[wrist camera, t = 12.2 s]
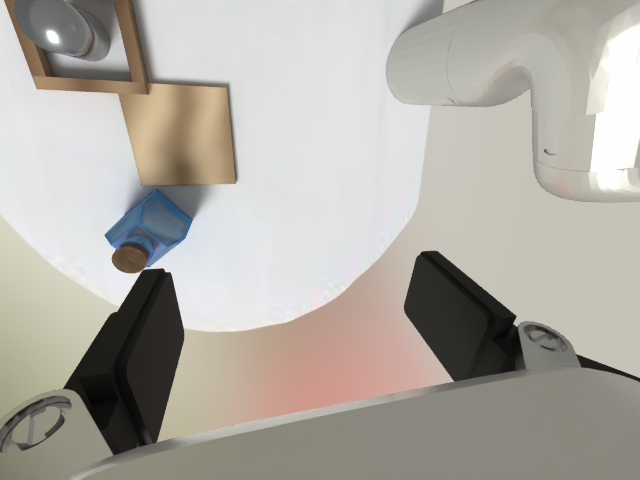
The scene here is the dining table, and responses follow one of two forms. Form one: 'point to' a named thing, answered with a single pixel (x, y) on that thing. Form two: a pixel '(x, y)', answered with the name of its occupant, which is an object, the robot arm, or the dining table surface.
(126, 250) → the perfume bottle
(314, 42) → the dining table surface
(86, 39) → the peg
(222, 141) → the mat
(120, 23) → the collar
